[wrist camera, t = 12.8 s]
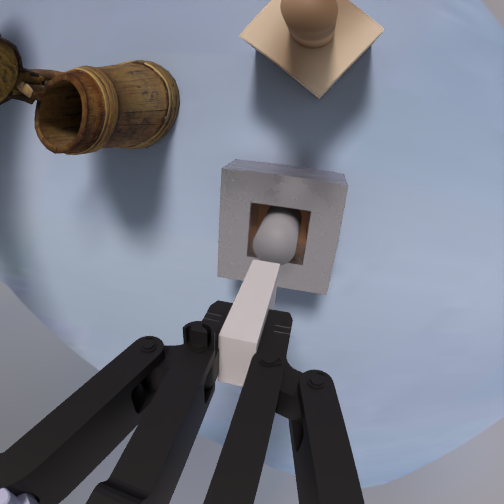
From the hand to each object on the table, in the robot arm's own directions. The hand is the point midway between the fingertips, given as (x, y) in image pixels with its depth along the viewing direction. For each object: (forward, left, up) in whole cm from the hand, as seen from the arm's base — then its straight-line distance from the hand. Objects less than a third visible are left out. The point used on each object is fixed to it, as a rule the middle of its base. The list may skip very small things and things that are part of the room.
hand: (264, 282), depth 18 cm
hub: (0, 0, -13) cm, 13 cm away
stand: (-8, +13, -13) cm, 20 cm away
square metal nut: (0, 0, -11) cm, 11 cm away
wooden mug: (-20, -1, -13) cm, 24 cm away
